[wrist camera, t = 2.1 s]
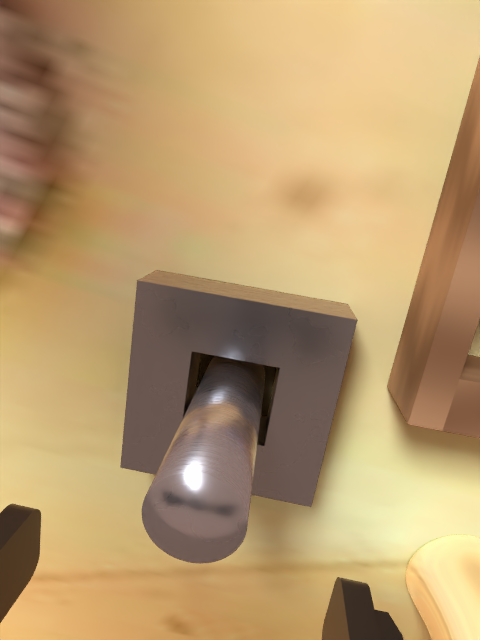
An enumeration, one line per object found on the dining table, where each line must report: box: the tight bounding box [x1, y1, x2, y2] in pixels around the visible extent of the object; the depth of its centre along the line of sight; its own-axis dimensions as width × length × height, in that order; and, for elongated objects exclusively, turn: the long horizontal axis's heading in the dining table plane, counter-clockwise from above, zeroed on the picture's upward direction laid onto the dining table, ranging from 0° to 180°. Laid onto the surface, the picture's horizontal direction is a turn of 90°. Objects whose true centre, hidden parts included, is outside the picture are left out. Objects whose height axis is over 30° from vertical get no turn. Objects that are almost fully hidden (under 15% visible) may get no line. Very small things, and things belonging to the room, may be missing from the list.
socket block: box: [121, 270, 357, 507], centre depth 22 cm, size 10×10×3 cm
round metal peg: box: [142, 356, 265, 563], centre depth 18 cm, size 3×3×11 cm
